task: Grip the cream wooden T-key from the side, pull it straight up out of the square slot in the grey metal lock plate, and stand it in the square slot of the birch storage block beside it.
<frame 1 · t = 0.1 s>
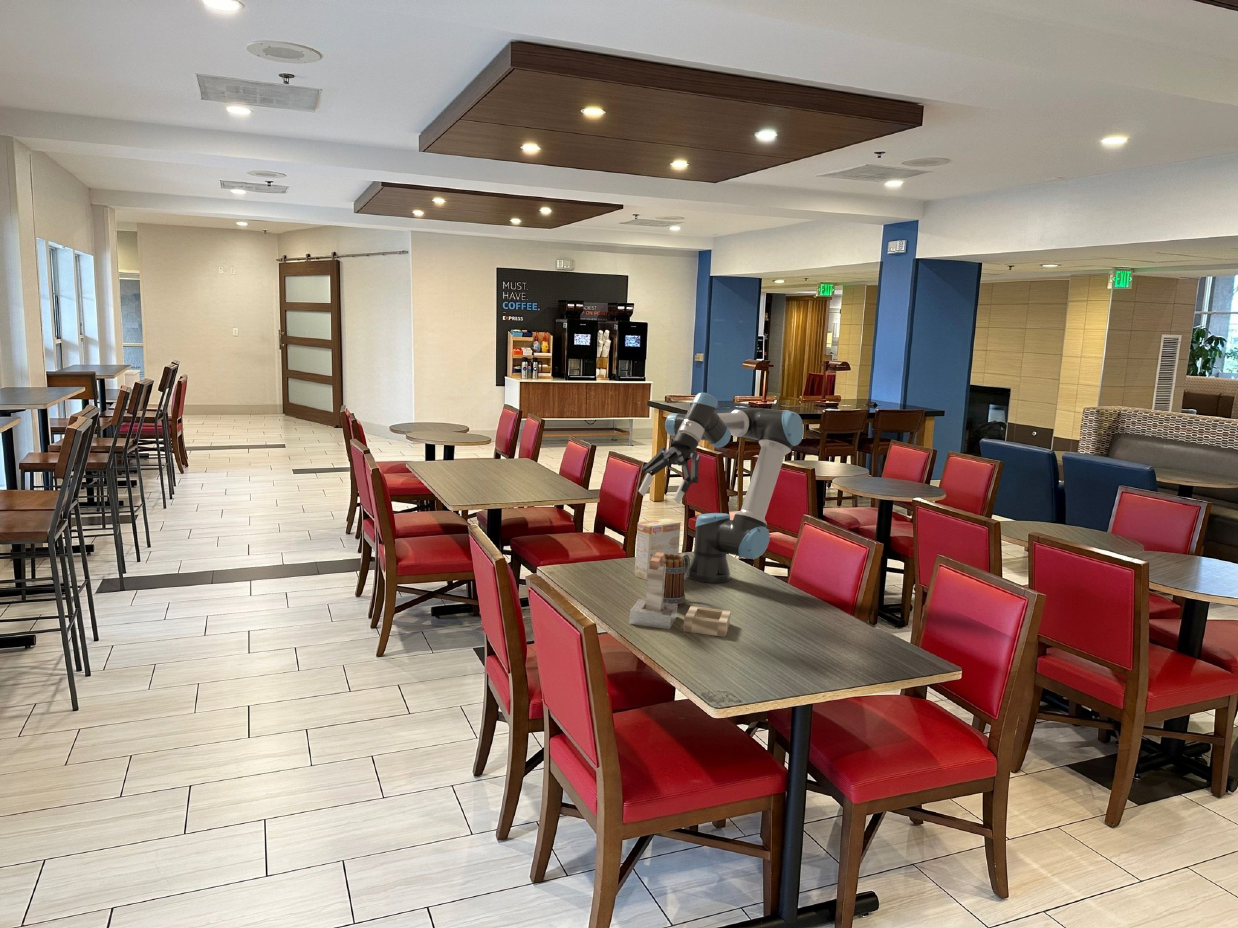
hand: (658, 497, 249), 36 cm above the table, tool tilted 35°, fingers open, 13 cm apart
storage block: (707, 627, 243), on the table
coffeecake box: (655, 576, 296), on the table
t-key: (655, 588, 245), in the lock plate
mug: (672, 601, 267), on the table
lock plate: (653, 620, 247), on the table
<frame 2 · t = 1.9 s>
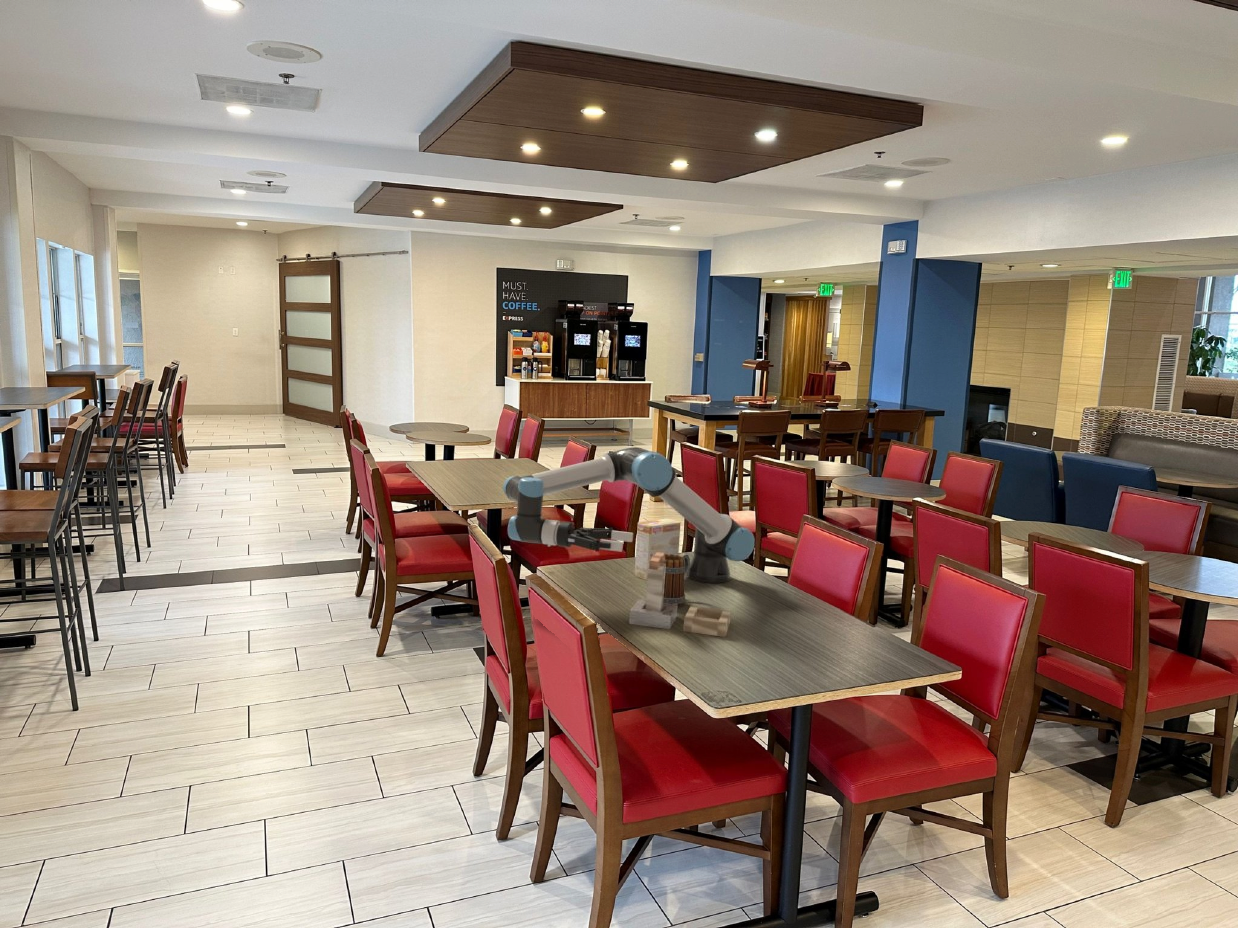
hand: (627, 542, 246), 23 cm above the table, tool horizontal, fingers open, 13 cm apart
nothing on the table moved.
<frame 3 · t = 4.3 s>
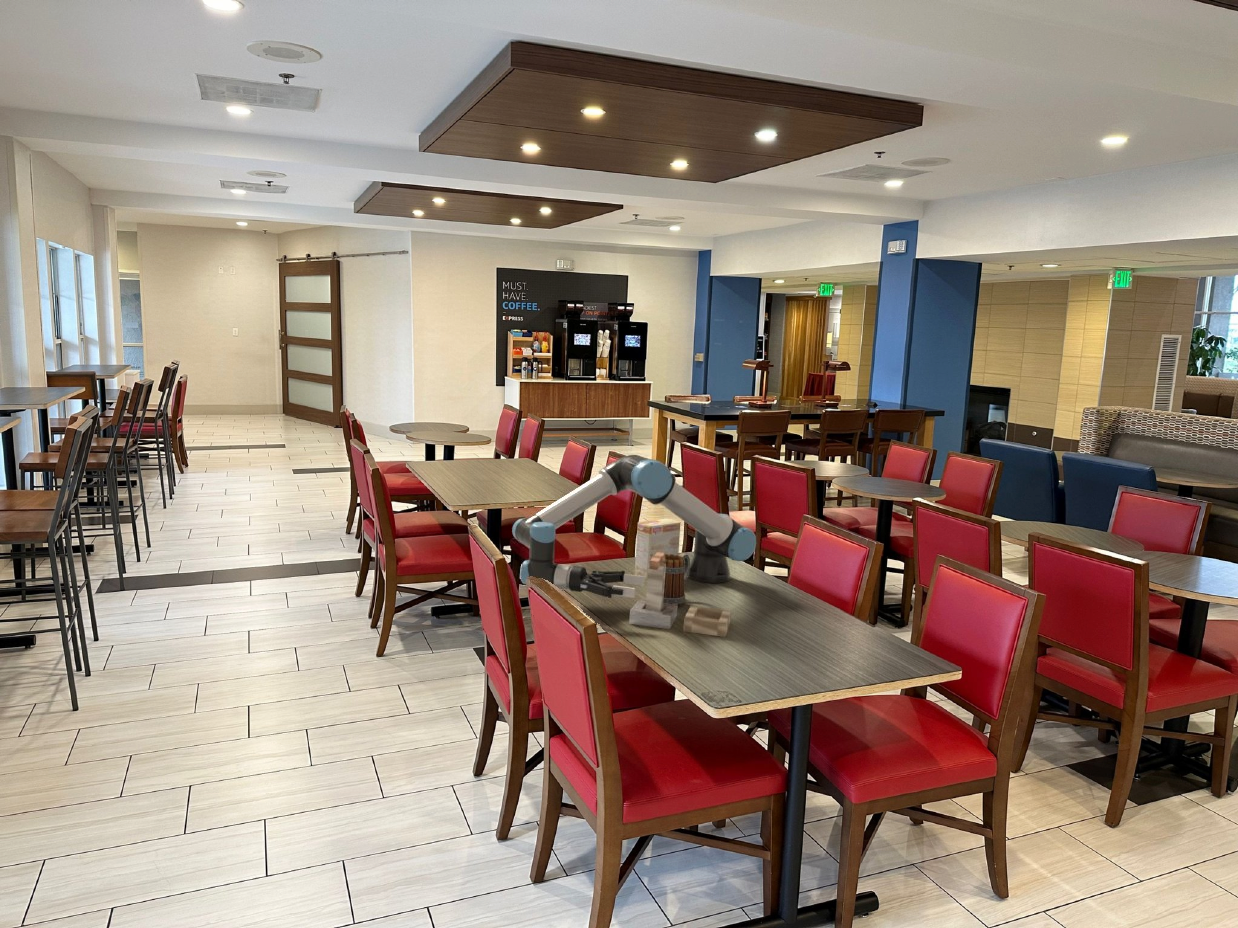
hand: (640, 586, 246), 10 cm above the table, tool horizontal, fingers open, 13 cm apart
nothing on the table moved.
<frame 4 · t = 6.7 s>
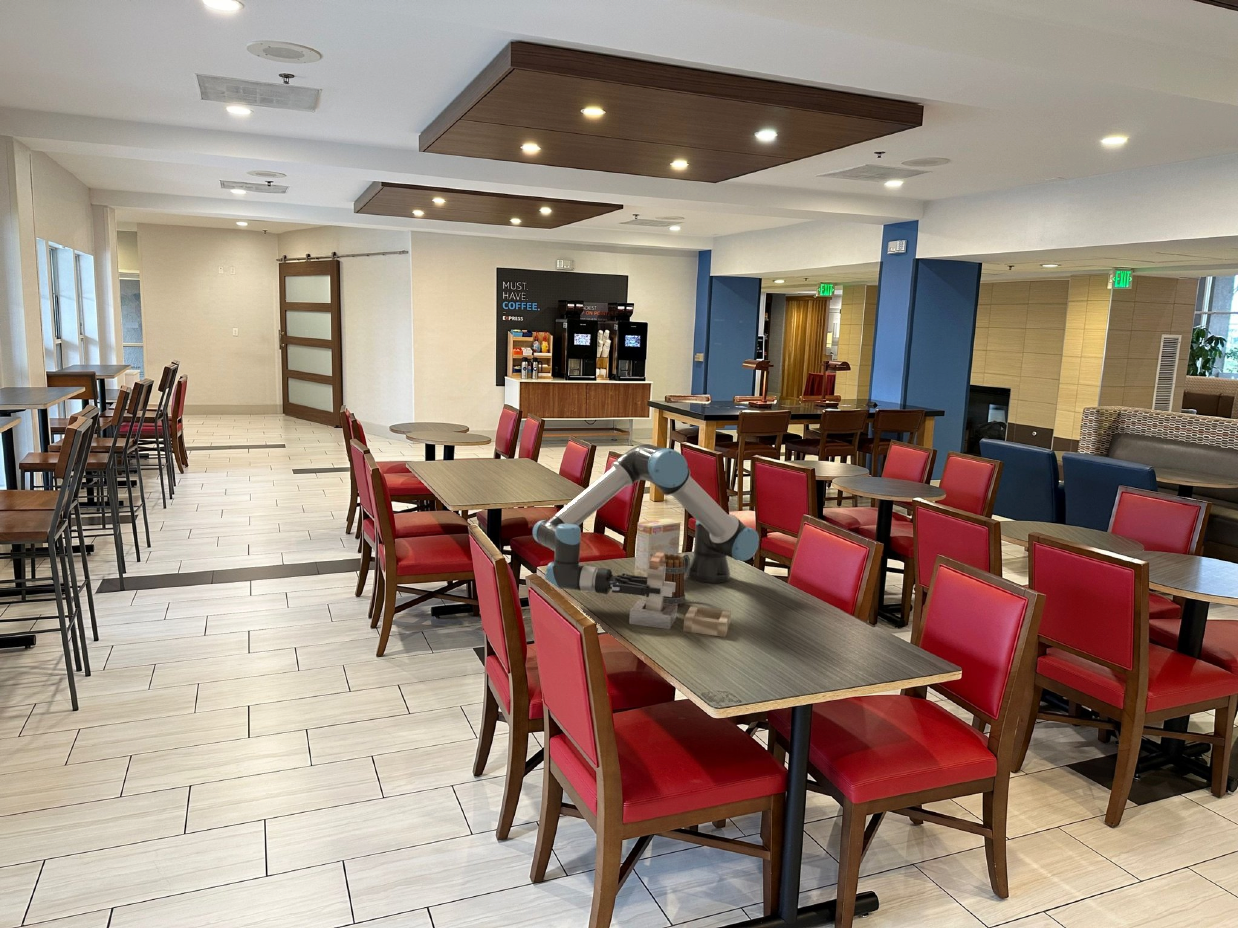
hand: (673, 589, 244), 10 cm above the table, tool horizontal, fingers closed on t-key, 4 cm apart
t-key: (655, 588, 245), in the lock plate, touching gripper
everything else where it was.
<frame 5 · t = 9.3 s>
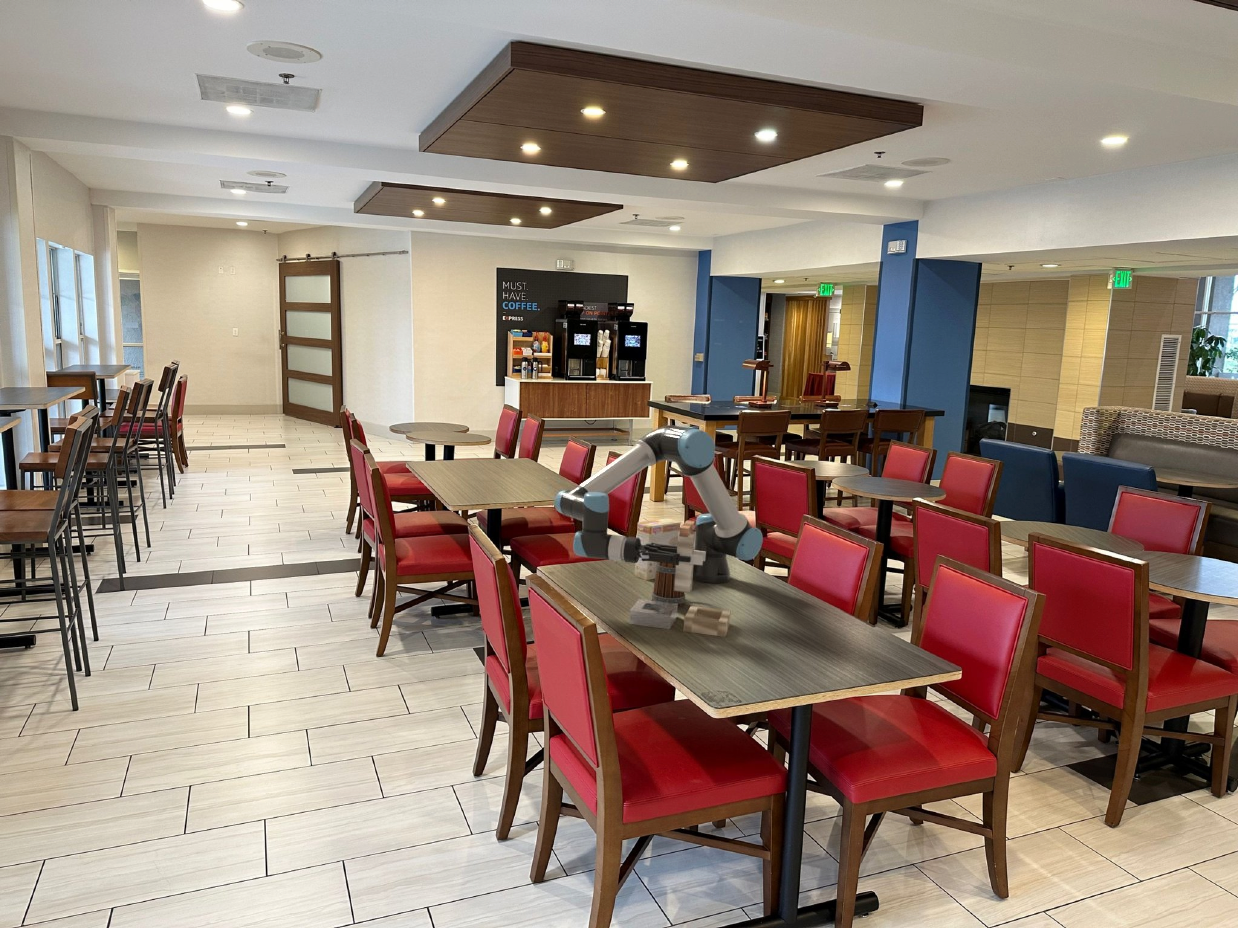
hand: (703, 558, 240), 21 cm above the table, tool horizontal, fingers closed on t-key, 4 cm apart
t-key: (685, 557, 241), point 20 cm above the table, touching gripper
everything else where it was.
when the fingers open (11 cm above the table, at t = 11.9 s): t-key drops 1 cm, resting in storage block.
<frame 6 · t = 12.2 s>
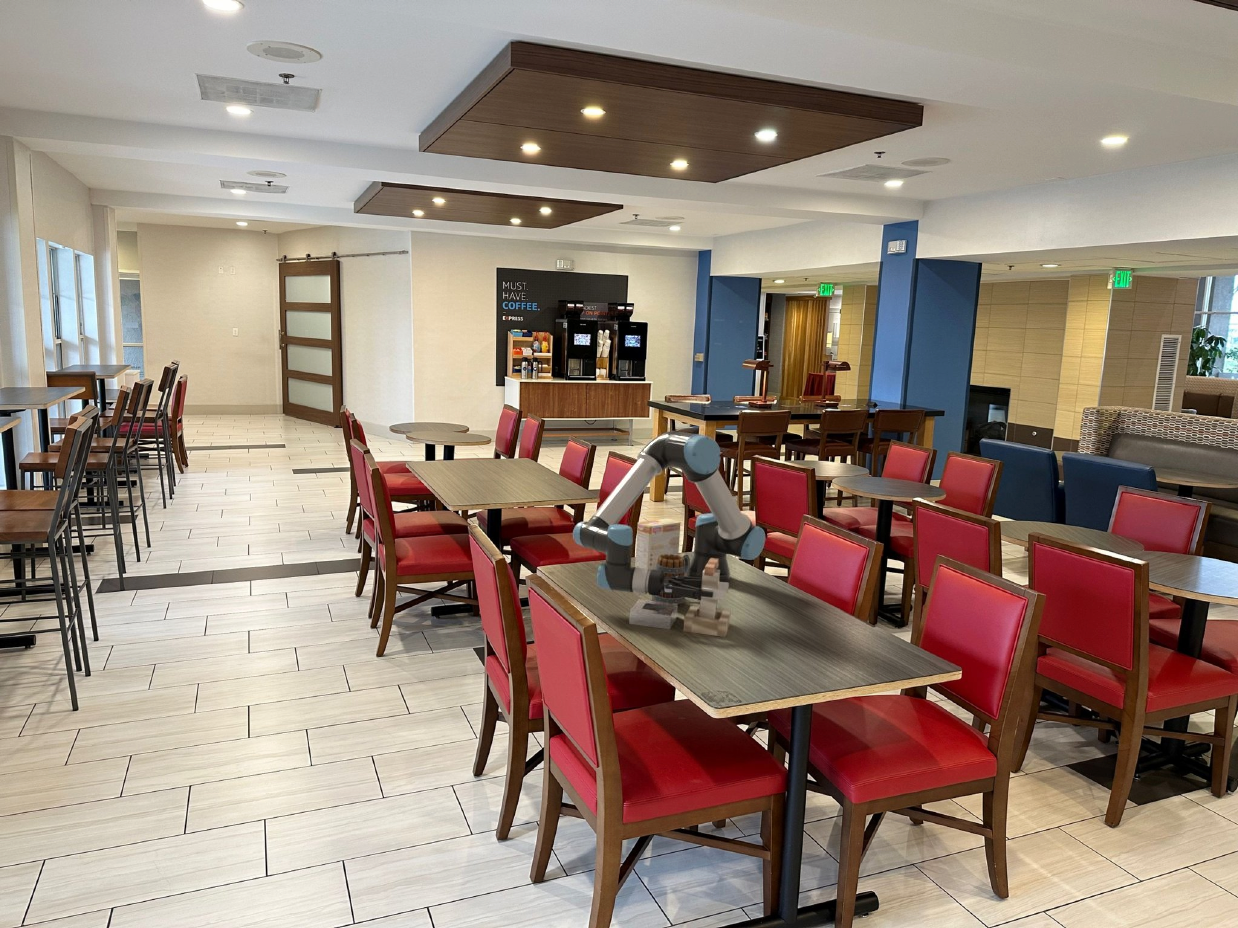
hand: (726, 591, 240), 11 cm above the table, tool horizontal, fingers open, 8 cm apart
t-key: (709, 595, 242), in the storage block
everything else where it was.
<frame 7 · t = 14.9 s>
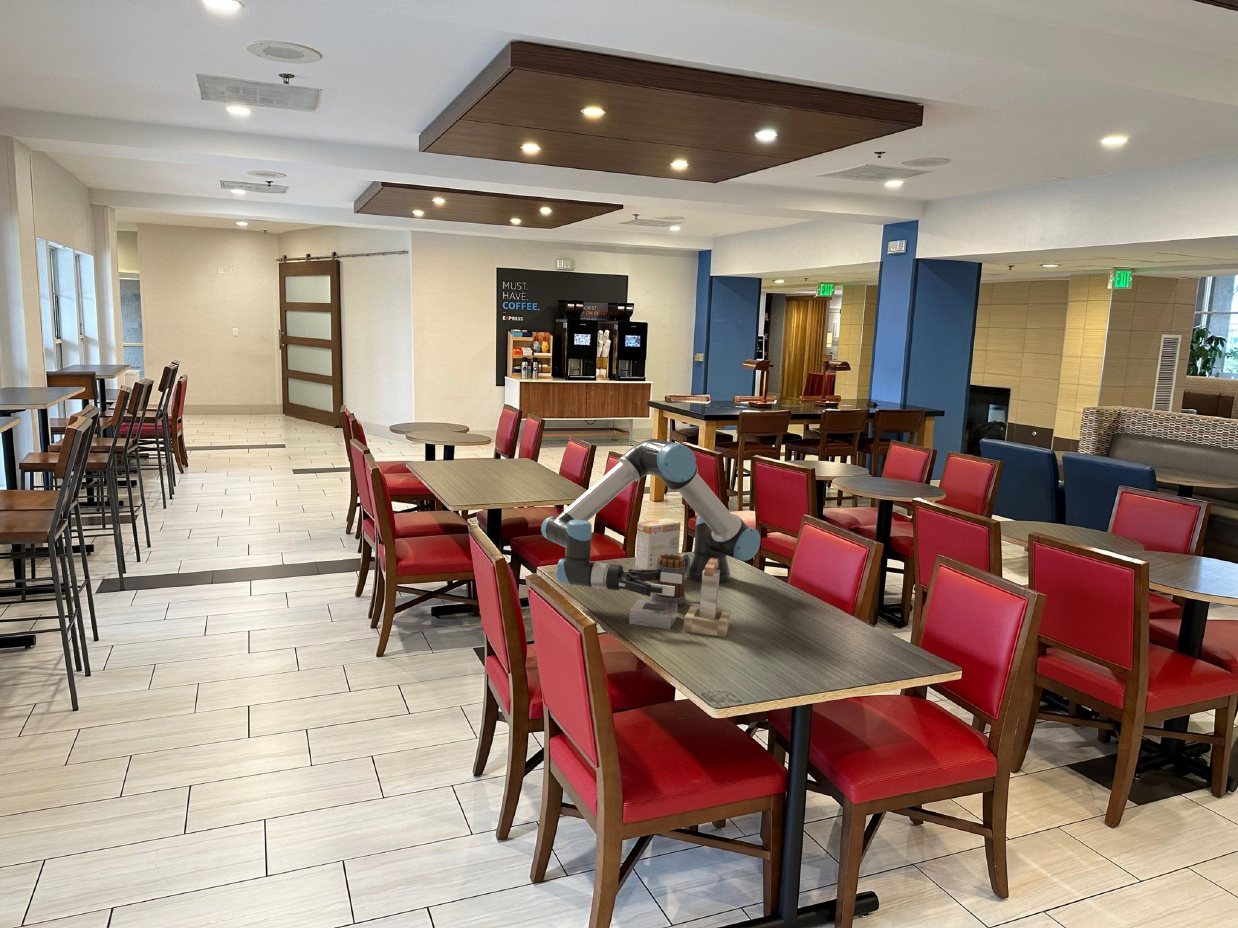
hand: (678, 585, 244), 12 cm above the table, tool horizontal, fingers open, 13 cm apart
nothing on the table moved.
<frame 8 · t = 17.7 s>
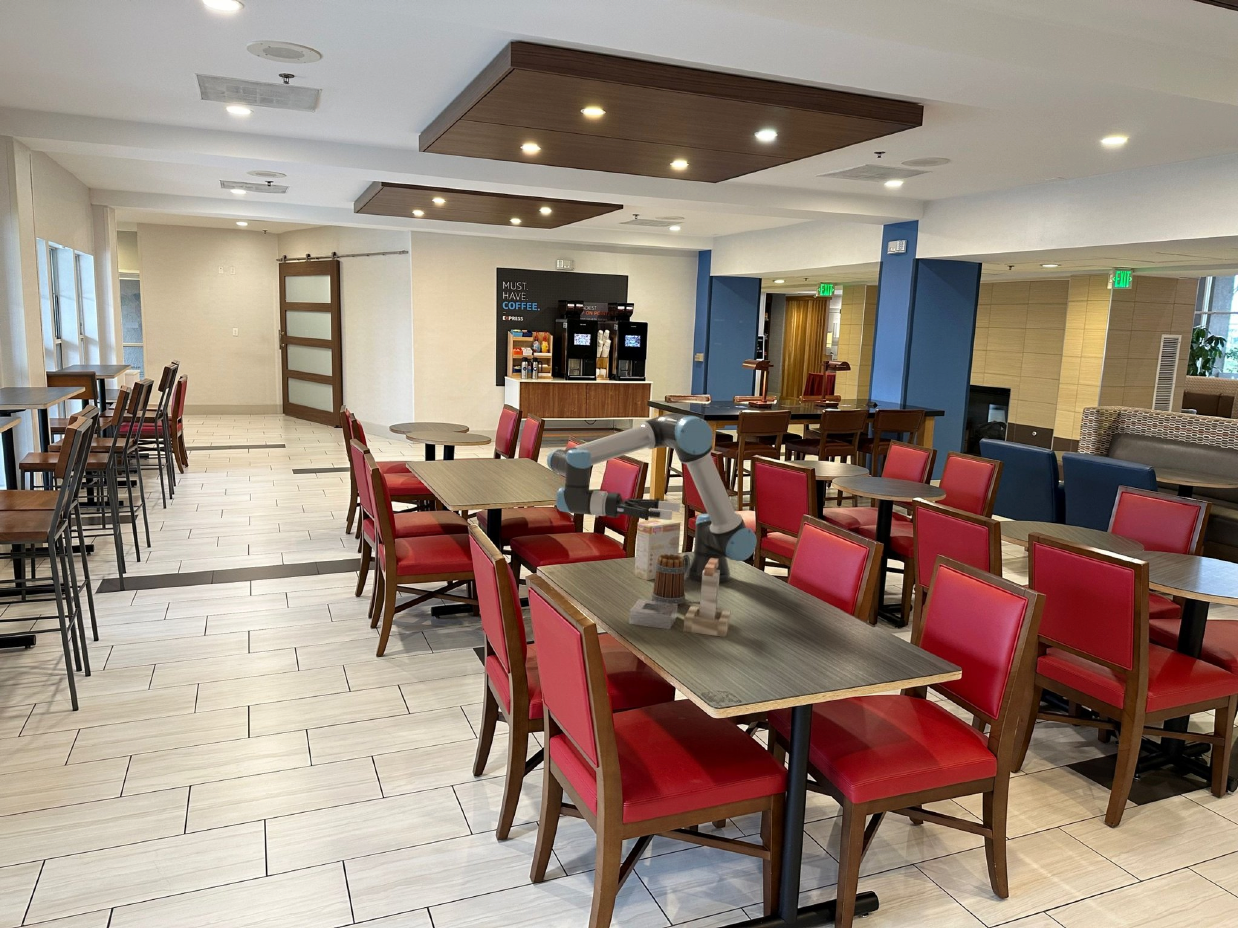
hand: (675, 511, 248), 32 cm above the table, tool horizontal, fingers open, 13 cm apart
nothing on the table moved.
at the end: t-key 0.0 cm off-centre on the storage block, point 9.7 cm above the storage block's base; t-key tilted 0°; the gripper is holding nothing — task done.
